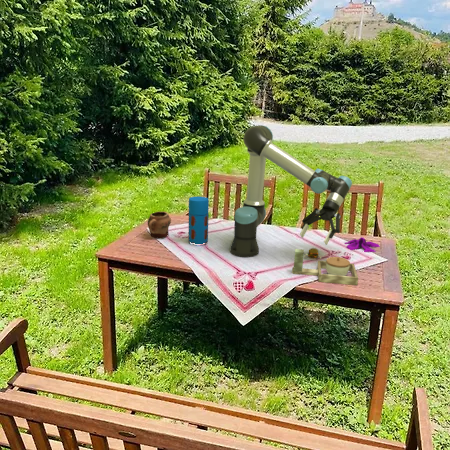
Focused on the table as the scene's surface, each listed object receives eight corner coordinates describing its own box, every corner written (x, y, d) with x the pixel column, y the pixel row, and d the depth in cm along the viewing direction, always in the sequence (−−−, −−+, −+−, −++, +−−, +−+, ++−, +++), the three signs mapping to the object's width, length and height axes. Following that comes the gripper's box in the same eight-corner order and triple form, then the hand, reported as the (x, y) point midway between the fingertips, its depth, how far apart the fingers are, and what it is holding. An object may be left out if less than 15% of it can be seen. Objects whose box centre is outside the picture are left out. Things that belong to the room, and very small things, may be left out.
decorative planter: (161, 244, 239) (160, 219, 234) (141, 241, 242) (140, 217, 238) (175, 233, 257) (175, 210, 253) (156, 230, 260) (156, 208, 256)
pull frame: (291, 279, 199) (293, 256, 195) (292, 265, 215) (294, 244, 211) (357, 285, 194) (360, 262, 191) (353, 270, 210) (355, 249, 207)
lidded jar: (321, 271, 208) (323, 253, 206) (343, 271, 209) (345, 253, 206) (328, 281, 198) (330, 262, 195) (351, 281, 199) (354, 262, 196)
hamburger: (296, 257, 227) (296, 247, 225) (310, 252, 234) (311, 243, 233) (314, 264, 218) (315, 254, 217) (328, 259, 226) (329, 249, 224)
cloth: (380, 244, 250) (381, 234, 248) (379, 255, 233) (381, 244, 231) (340, 239, 257) (341, 229, 255) (337, 249, 240) (338, 238, 238)
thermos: (200, 247, 236) (201, 202, 228) (184, 243, 241) (184, 199, 234) (211, 241, 245) (212, 198, 237) (196, 237, 250) (196, 195, 242)
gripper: (357, 213, 209) (338, 250, 203) (313, 203, 226) (294, 237, 220) (353, 204, 204) (333, 242, 198) (308, 195, 221) (289, 229, 215)
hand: (313, 239), depth 209 cm, fingers open, 13 cm apart
